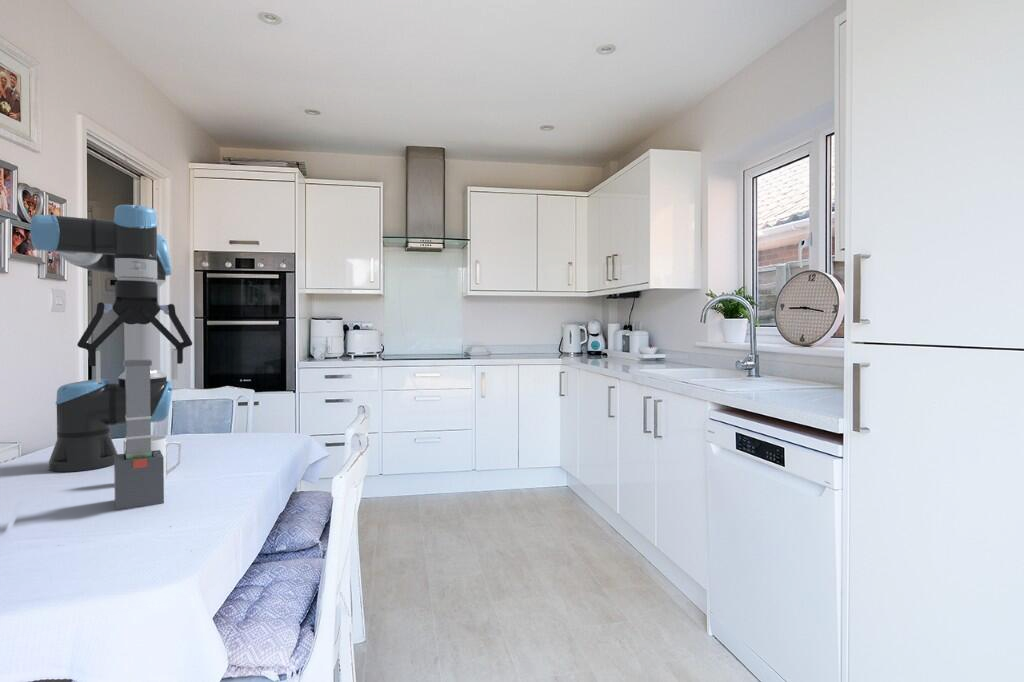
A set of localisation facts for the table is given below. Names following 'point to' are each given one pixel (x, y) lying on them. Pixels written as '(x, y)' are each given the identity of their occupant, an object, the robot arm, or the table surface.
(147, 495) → the stand
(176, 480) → the table surface
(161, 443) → the mug
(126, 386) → the column
